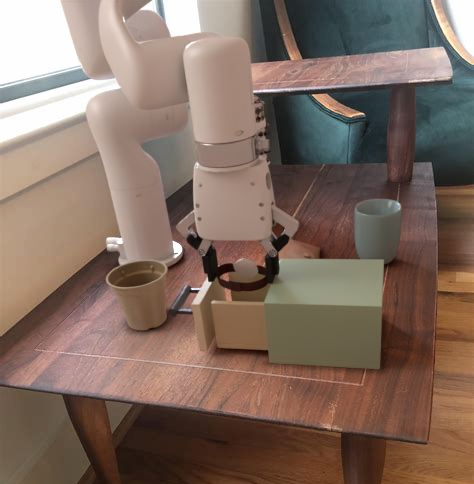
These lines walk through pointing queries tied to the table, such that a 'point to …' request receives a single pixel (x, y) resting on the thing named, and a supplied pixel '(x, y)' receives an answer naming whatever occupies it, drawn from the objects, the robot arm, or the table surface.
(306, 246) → the sunglasses case
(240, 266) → the watch
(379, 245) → the cup
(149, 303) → the flower pot
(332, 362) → the cabinet
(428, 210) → the table surface
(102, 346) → the table surface
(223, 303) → the drawer
